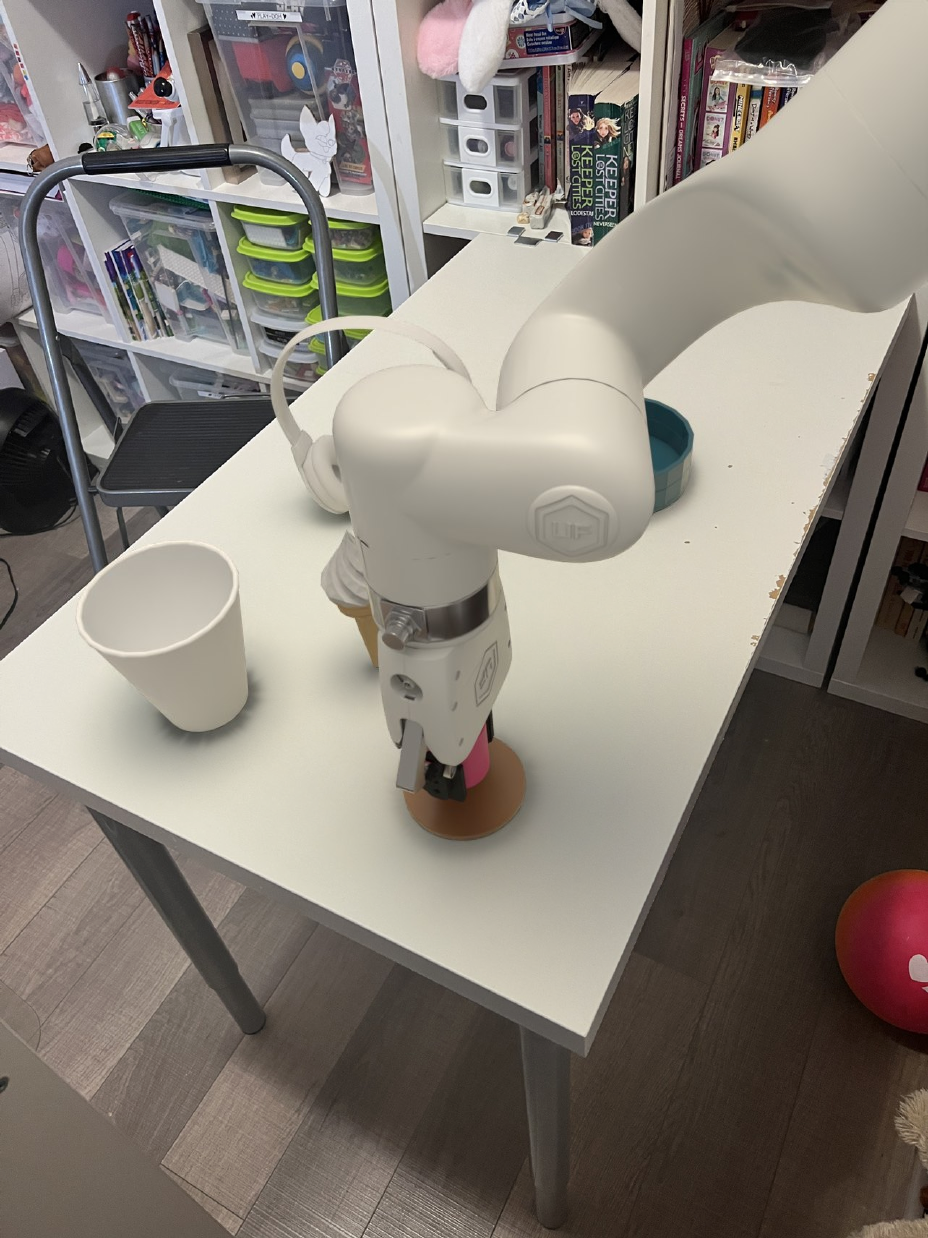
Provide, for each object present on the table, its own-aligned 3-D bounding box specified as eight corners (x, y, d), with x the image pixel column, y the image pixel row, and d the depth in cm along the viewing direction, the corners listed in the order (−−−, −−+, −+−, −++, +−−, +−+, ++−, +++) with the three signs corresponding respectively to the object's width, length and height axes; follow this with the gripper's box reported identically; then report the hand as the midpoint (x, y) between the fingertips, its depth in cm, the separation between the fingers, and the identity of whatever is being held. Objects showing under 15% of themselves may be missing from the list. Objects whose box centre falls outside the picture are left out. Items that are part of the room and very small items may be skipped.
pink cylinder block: (475, 730, 65) (470, 687, 61) (499, 776, 62) (496, 734, 59) (419, 751, 64) (411, 710, 61) (441, 799, 61) (434, 758, 58)
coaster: (495, 719, 69) (495, 715, 69) (546, 811, 63) (546, 807, 63) (387, 762, 67) (386, 758, 67) (430, 860, 61) (429, 856, 61)
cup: (194, 629, 79) (146, 524, 70) (306, 667, 74) (270, 560, 65) (105, 731, 72) (38, 628, 63) (223, 778, 67) (170, 676, 58)
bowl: (642, 417, 95) (645, 380, 91) (716, 490, 86) (723, 452, 82) (524, 456, 92) (522, 419, 89) (588, 535, 83) (589, 498, 79)
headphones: (313, 481, 92) (265, 300, 77) (488, 485, 89) (473, 298, 74) (294, 527, 87) (240, 343, 72) (478, 533, 84) (460, 343, 70)
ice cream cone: (331, 673, 74) (291, 539, 63) (373, 630, 77) (341, 495, 66) (383, 701, 71) (351, 566, 60) (424, 656, 74) (400, 519, 63)
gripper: (434, 714, 44) (463, 884, 57) (544, 502, 54) (547, 689, 67) (302, 676, 46) (359, 848, 59) (432, 480, 56) (456, 664, 69)
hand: (459, 762), depth 63 cm, fingers closed on pink cylinder block, 4 cm apart
